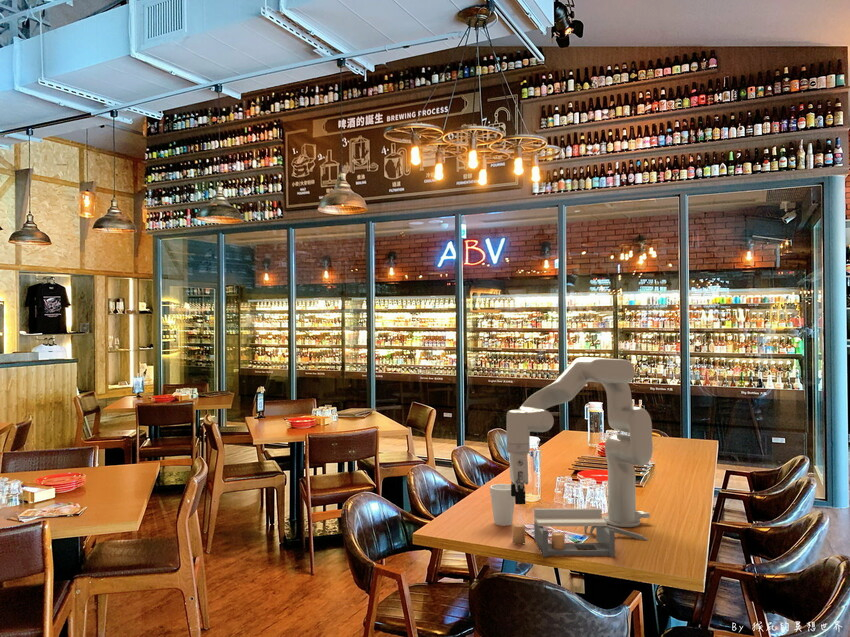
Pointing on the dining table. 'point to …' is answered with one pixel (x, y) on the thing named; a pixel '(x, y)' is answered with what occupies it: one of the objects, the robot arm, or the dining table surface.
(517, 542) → the peg
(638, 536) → the caliper
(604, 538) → the housing
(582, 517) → the lid
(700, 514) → the dining table surface
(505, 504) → the foam cup
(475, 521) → the dining table surface
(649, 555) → the dining table surface
